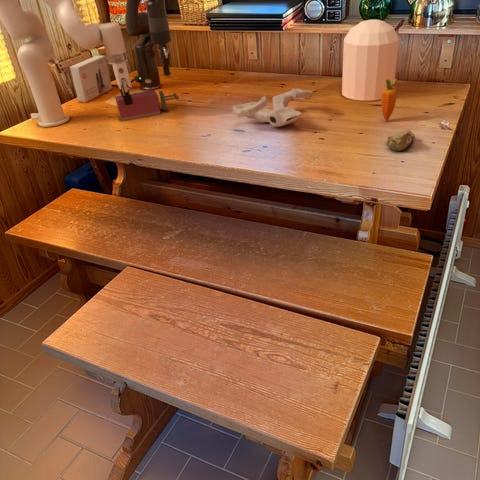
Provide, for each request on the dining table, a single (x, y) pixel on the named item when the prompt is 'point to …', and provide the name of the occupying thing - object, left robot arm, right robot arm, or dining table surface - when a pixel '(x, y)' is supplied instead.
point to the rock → (400, 140)
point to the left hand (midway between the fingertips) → (127, 101)
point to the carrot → (388, 99)
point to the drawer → (166, 99)
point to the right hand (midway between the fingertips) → (167, 74)
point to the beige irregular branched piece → (280, 112)
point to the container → (369, 60)
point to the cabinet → (138, 105)
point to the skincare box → (91, 78)
